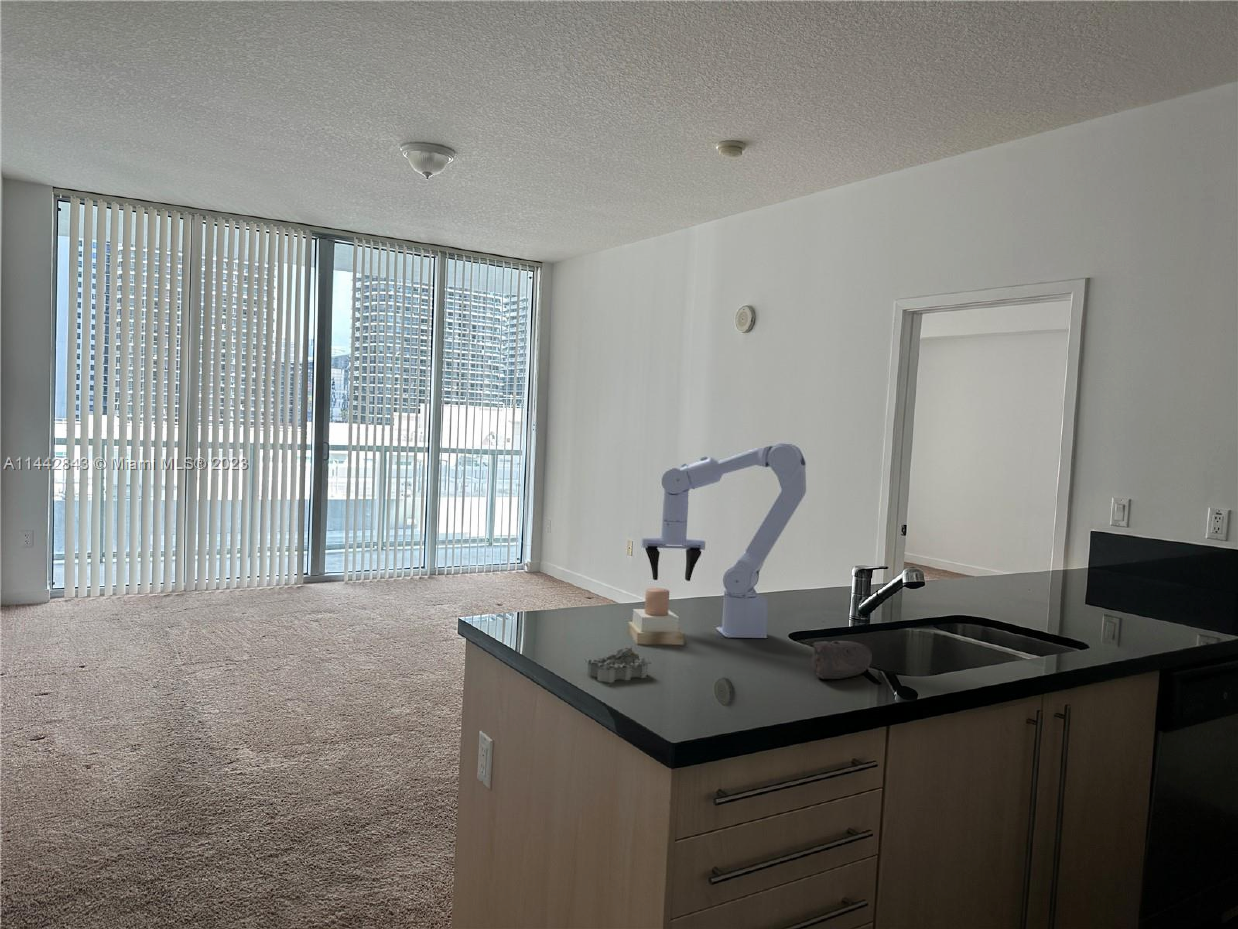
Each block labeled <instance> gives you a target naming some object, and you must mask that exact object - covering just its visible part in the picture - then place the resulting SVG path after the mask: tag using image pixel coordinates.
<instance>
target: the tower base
mask: <svg viewBox="0 0 1238 929" xmlns="http://www.w3.org/2000/svg"><path fill="white" fill-rule="evenodd" d="M627 633H628V635H629V636H630V637H631V639H632V640H633V642H635V644H636V645H675V646H676V645H680V646H681V645H685V633H684V631H682V630H681V629H680V628H678V632H641V631H640V630H639V629H638V628H637V627H636V626H635V625H634V624H633V621H628V622H627Z"/></svg>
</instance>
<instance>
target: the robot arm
mask: <svg viewBox="0 0 1238 929" xmlns="http://www.w3.org/2000/svg"><path fill="white" fill-rule="evenodd" d="M754 466H759V467H764V468H770V469H771V470H772V471H773V473H774V475H776V477H777V480H778V483H779V486H780V489H781V491H780V492H779V494H778V496H777V498H776V499H775V501H774V502H773V504H772V506H771V508H770V509H769V511H768V512H767V514H766V516H765V517H764V519H763V521H762V522H761V525H760V526H759V527H758V529H757V531H756V533H755V534H754V536H753V537H752V539H751V540H750V542H749V543H748V546H747V548H746V549H745V551H744V552H743V553H742V555H740V557H739V558H738V559H737V561H736V563H735V564H734V565H733V566H732V567H730V568H728V569H727V570H726V571H725V573H724V574H723V578H722V583H723V587H724V589H725V590H723V604H722V605H723V606H722V626H717V627H716V628H715V629H716V630H717V631H718V632H719V633H720V634H721V635H722V636H724V637H725V638H736V639H737V638H741V639H742V638H747V639H748V638H750V639H751V638H752V639H757V638H758V639H767V638H768V635H767V624H768V601H767V598H766V596H764V595H761V594H760V595H759V594H758V593H757V591H756V589H755V587H756V586H757V584H758V582H759V579H760V571H761V570H762V569H763V566H764V564H765V560H766V559H767V557H768V556H769V554H770V552H771V551H772V550H773V547H774V545H775V544H776V542H777V541H778V539H779V538H780V536H781V535H782V534H783V533H782V532H783V531H784V530H785V528H786V526H787V525H788V523H789V522H790V520H791V519H792V516H794V514H795V512H796V510H797V508H798V507H799V505H800V504H801V502H802V500H803V498H804V497H805V496H806V493H807V478H806V477H807V476H806V475H807V474H806V466H807V462H806V460H805V458H804V455H803V453H802V451H801V449H800V448H799V447H798V446H796V445H795V444H792V443H778V444H775V445H766V446H761V447H756V448H754V449H753V448H752V449H750V450H746V451H744V452H742V453H739V454H736V455H733V456H730V457H727V458H724V459H721V460H717V459H715V458H714V457H708V456H703V457H700V460H699V461H696V462H691V463H689V464H687V463H682V464H681V465H680V468H677V467H671V468H670V469H669V470H666V471H665V472H664V473H663V475H662V477H661V486H662V488H663V490H664V491H663V492H664V493H663V501H662V502H663V503H662V504H663V505H662V517H661V519H662V520H661V537H660V538H658V537H657V538H656V537H655V538H653V537H652V538H651V537H649V538H647V537H646V538H641V547H642V548H643V549H645V552H646V555H647V557H648V560H649V564H650V568H651V574H652V575H651V576H652V579H653V581H658V578H659V559H660V553H661V552H660V550H659V549H660V548H661V549H681V550H682V549H684V550H685V559H686V561H685V563H686V565H685V572H684V579H685V580H686V581H687V582H691V578H692V574H693V572H694V569H695V566H696V564H697V563H698V561H699V559H700V557H701V556H702V551H704V550H706V541H705V540H702V539H701V540H700V539H699V540H698V539H687V531H688V517H689V516H688V514H689V491H690V490H691V489H692V490H695V489H699V488H702V487H706V486H709V485H711V484H716V483H719V482H720V481H721V479H722V477H723V476H724V475H725V474H728V473H732V472H737V471H739V470H740V471H741V470H742V469H746V468H750V467H754Z"/></svg>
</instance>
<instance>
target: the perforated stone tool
mask: <svg viewBox="0 0 1238 929" xmlns="http://www.w3.org/2000/svg"><path fill="white" fill-rule="evenodd" d="M812 644H813V646H812V649H813V653H812V656H811V657H812V659H811V661H812V664H813V666H814V669H813V670H814V671H813V673H814V675H815V676H817V678H820V679H821V680H822V679H823V680H839V679H845V678H846V679H848V678H850V677H851V678H852V677H854V676H859V675H861V674H862V673H865V672H866V671H867V670H868V668H869V667H870V666H871V663H872V659H873V658H872V656H873V655H872V651H871V650H870V648H868V646H866V645H865V644H862V643H860V642H855V641H850V640H849V641H848V640H832V641H827V640H826V641H825V640H824V641H816V642H813V643H812Z"/></svg>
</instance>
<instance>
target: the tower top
mask: <svg viewBox="0 0 1238 929" xmlns="http://www.w3.org/2000/svg"><path fill="white" fill-rule="evenodd" d="M632 622H633V624H634V625H635V626H636V627H637V628H638V629H639V630H640V631H641V632H678V628H679V626H680V625H679V624H680V617H679V616H678V615H677V614H675V613H674V612H673V611H671V610H670V609H668V615H667V616H651V615H647V614H645V608H633V609H632ZM679 629H680V628H679Z"/></svg>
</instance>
